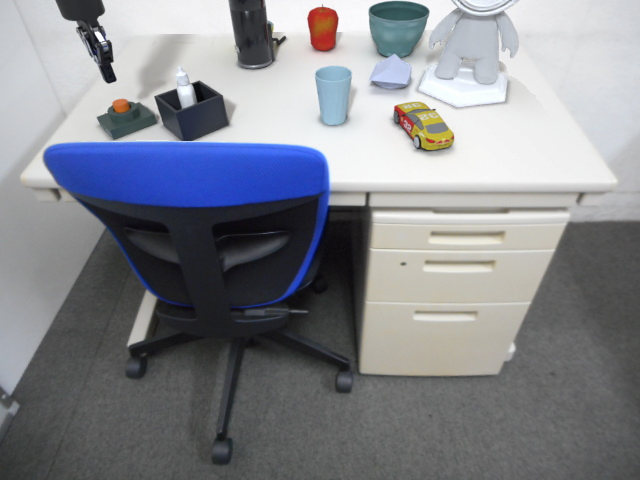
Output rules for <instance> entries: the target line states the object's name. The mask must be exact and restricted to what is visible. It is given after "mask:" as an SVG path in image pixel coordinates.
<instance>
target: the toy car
mask: <svg viewBox="0 0 640 480" xmlns="http://www.w3.org/2000/svg"><path fill="white" fill-rule="evenodd" d="M436 110H437V109H436V108H430V107H429V106H428V105H427V104H426V103H425V102H421V101H409V102H404V103H399V104H396V105H394V107H393V116H392V117H393V120H394V123H395V124H397V125H398V124H399V125H400V126H401V127H402V128H403V129H404V130H405V131H406V133H407V134H408V136H409V137H410V138H411V139H412V140H413V144H414V147H415V148H416V149H417V150H419V149H424V150H426V151H435V150H442V149H446V148H449V147H451V146H453V144H454V141H455V133H454V132H453V130H452V129H451V128H450V127H449V126H448V125H447V123H446V122H445V121H444V119H443V118H442V117H441V115H440V114H439V113H438V112H437V111H436Z"/></svg>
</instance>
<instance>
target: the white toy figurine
mask: <svg viewBox="0 0 640 480" xmlns="http://www.w3.org/2000/svg"><path fill="white" fill-rule="evenodd" d="M450 1H451V2H452V3H453V5H455V6H456V8H454V9H453V10H451V11H450V12H449V13H448V14H447V15H446V16H445V17H444V18H442V19H441V21H440V22H438V23H437V25H435V27H434V29H433V30H432V32H431V34H430V35H429V38H428V39H429V40H428V48H429V49H430V50H433V49H434V48H435V45H436V44H437V43H438V42H439V45H440V46H443V45H444V43H445V41H446V39H447V37H448V35H449V34H450V35H449V37H448V39H447V41H446V43H445V45H444V47H443V49H442V51H441V55H440V56H439V59H438V62H437V64H431V65H429V66H428V67H427V68H426V69H425V72H424V75H423V77H422V79H421V82H420V84H419V86H418V92H421V93H422V94H425V95H427V96H430V97H432V98H434V99H437V100H439V101H441V102H444V103H445V104H448V105H451V106H453V107H455V108H465V107H474V106H482V105H491V104H492V105H493V104H499V103H500V104H501V103H505V101H506V96H507V88H508V77H507V75H506V74H505V73H503V72H501V71H499V61H500V57H499V56H500V41H501V52H502V53H505V52H506V49H508V51H509V58H510V59H513V58H515V56H516V55H517V53H518V51H519V47H520V39H519V35H518V31H517V29H516V27H515V25H514V23H513V21H512V19H511V17H510V16H509V15H508V14H507V12H505V11H506V10H508V9H510V8H511V7H513V6H514V5H515V4H517V3H518V2H520V0H450ZM450 32H451V33H450ZM499 36H500V39H499ZM464 59H466V61H464ZM469 60H474V62H472V61H469Z"/></svg>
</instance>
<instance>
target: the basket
mask: <svg viewBox="0 0 640 480" xmlns="http://www.w3.org/2000/svg"><path fill="white" fill-rule="evenodd" d="M190 83H191V84H192V86H193V88H194V91H195V95H196V99H197V103H196V104H194V105H191V106H188V107H186V108H183V109H182V107H181V103H180V100H179V96H178V93H177V87H176V88H173V89H171V90H168V91H165V92H162V93H159V94H157V95H154V96H153V99H154V101H155V104H156V107H157V110H158V113H159V117H160V120H161V123H162V125H163V127H164V128H165V129H167V130H168V131H169V132H170V133H171V134H173V135H174V136H175V137H176V138H178V140H180V141H181V142H182V141H190V142H192V141H194V140H197V139H199V138H202V137H204V136H206V135H209V134H211V133H213V132H216V131H219V130H222V129H223V128H225V127H228V126H229V125H230V124H229V118H228V113H227V108H226V103H225V100H224V95H223V94H222V93H220V92H218V91H217V90H215V89H214V88H212V87H211V86H210V85H208V84H206V83H204V82H203V81H202V80H196V81H194V82H190Z"/></svg>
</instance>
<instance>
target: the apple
mask: <svg viewBox="0 0 640 480" xmlns="http://www.w3.org/2000/svg"><path fill="white" fill-rule="evenodd" d="M339 19H340V17H339V15H338V12H337V11H336V9H333V8H331V7H327V6H324V4H323V3H321V6H317V7H315V8H312V9H310V10H309V12H308V15H307V17H306V20H307V26H308V32H309V37H310V45H311V46H312V47H313V48H314V49H315V50H317V51H320V52H326V51H327V52H328V51H330V50H332V49H333V48H335V46H336V44H337V43H336V41H337V32H338V27H339Z"/></svg>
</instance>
